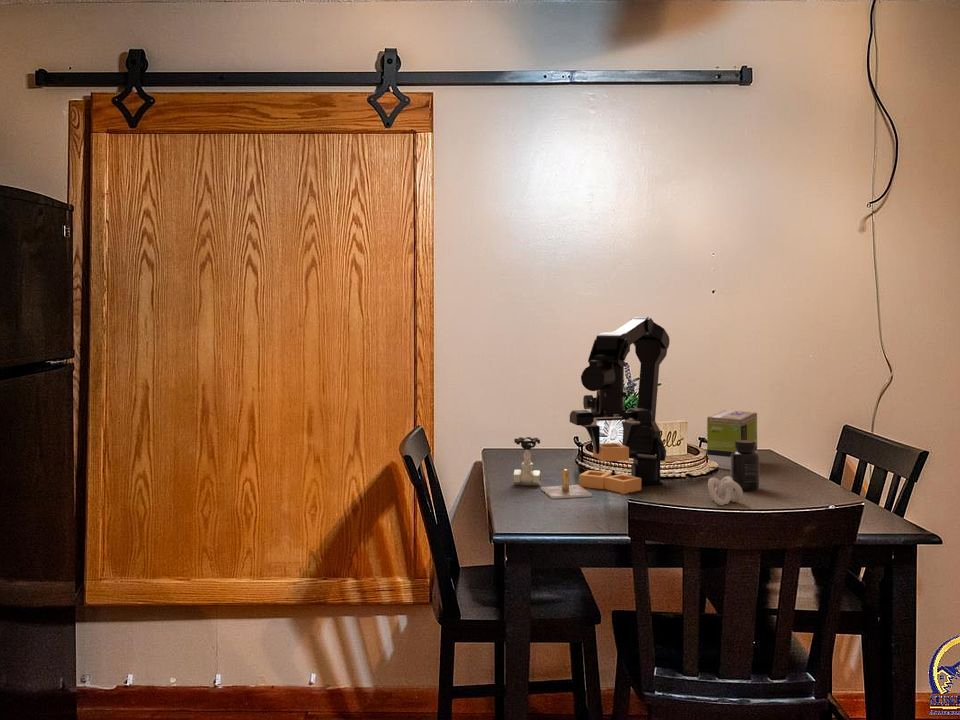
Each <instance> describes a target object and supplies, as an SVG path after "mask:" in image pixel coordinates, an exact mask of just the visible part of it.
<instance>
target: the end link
mask: <svg viewBox="0 0 960 720" xmlns="http://www.w3.org/2000/svg"><path fill="white" fill-rule="evenodd" d="M592 446H593V445H592ZM592 449H593V450H592V457H594V458H596V459H597V460H600V461H601V462H620V461H622V462H623V461H629V460H630V458H629V447H627V446H625V445H623V444H622V443H620V442H607V443H604V442H603V443H600V449H599V454H596V452H595V449H594V446H593V447H592Z"/></svg>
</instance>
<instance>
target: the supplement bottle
mask: <svg viewBox="0 0 960 720" xmlns="http://www.w3.org/2000/svg"><path fill="white" fill-rule="evenodd" d="M735 449H736V450H735V451H734V452H732V454H731V470H730V477H731V478H732V479H733V481H734V482H736V483H738V484H739V485H740V487H741V488H742V491H743V492H755V491H758V490H759V488H760V454H759V453H758V451H757V452H755V451H754V449H755V441H751V440H736V441H735ZM733 490H735V489H734V488H733Z"/></svg>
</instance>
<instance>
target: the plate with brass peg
mask: <svg viewBox="0 0 960 720" xmlns="http://www.w3.org/2000/svg"><path fill="white" fill-rule="evenodd" d="M539 490H540V491H542V492H543V493H544V492H545V493H544V494H545V495H547V496H548V497H549V498H551V499H552V500H555V499H556V500H557V499H570V498H571V499H572V498H573V499H574V498H590V497H593V494H592V493H591V492H590V491H588V490H587V489H586V488H585V487H581V486H579V484H571V485H570V470H569V469H568V468H564V469H563V470H562V471H561V485H554V486H553V485H551V486H540V488H539Z"/></svg>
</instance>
